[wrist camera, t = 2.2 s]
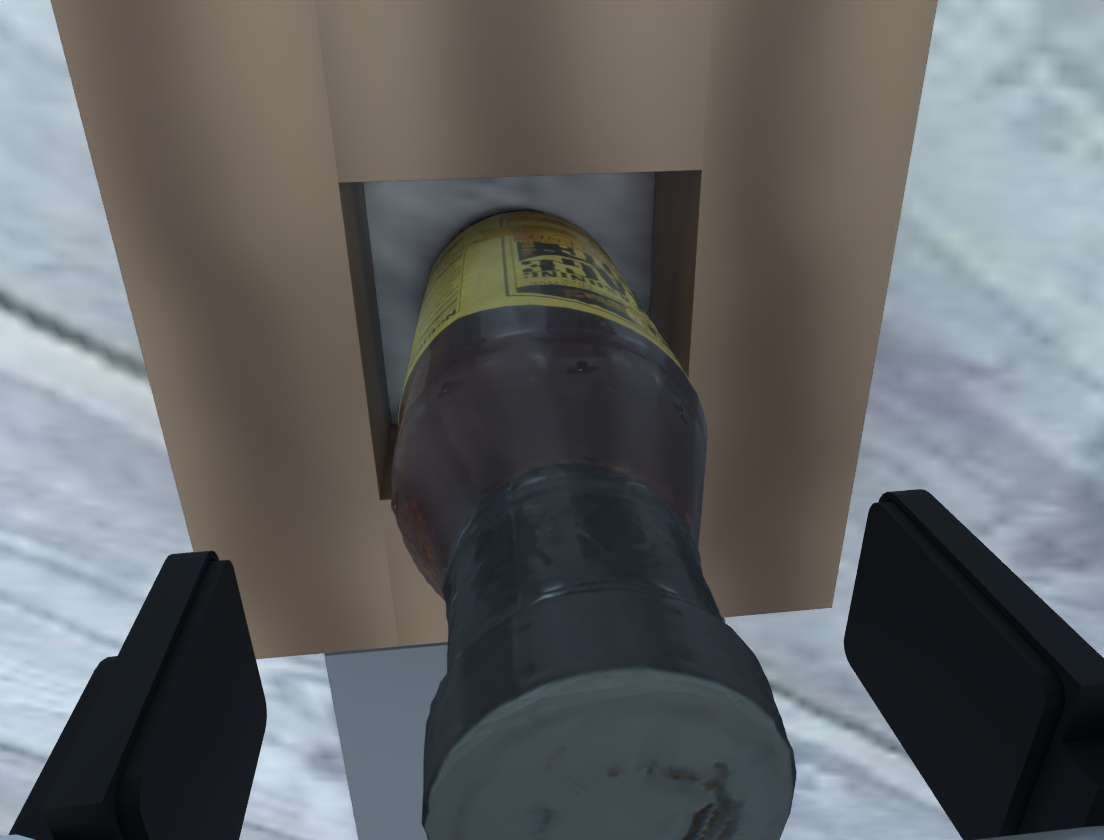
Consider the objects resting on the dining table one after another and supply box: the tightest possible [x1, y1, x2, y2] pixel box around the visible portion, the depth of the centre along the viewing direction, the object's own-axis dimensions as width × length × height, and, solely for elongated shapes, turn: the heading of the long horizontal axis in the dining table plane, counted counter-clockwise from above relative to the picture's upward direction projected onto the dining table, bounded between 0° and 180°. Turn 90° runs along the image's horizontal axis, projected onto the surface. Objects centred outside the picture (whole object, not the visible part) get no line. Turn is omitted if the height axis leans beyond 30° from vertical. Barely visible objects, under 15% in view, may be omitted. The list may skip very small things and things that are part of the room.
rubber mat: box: [325, 617, 725, 840], centre depth 36 cm, size 16×16×1 cm
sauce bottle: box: [391, 209, 796, 840], centre depth 17 cm, size 7×6×20 cm
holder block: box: [51, 0, 938, 659], centre depth 24 cm, size 20×20×5 cm
